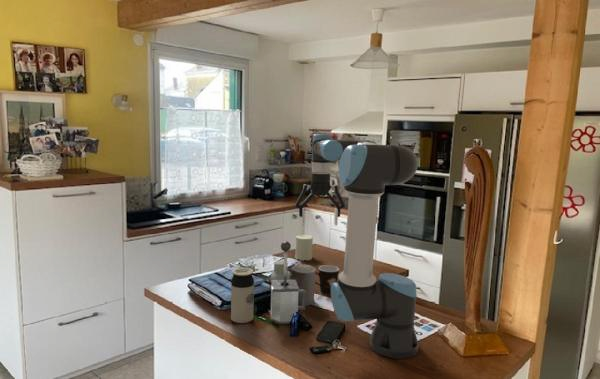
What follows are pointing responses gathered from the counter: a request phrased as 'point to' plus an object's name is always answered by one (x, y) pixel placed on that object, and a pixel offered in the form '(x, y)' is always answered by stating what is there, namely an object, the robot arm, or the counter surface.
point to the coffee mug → (327, 277)
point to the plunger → (285, 260)
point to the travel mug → (242, 295)
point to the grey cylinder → (304, 282)
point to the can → (304, 247)
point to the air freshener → (279, 271)
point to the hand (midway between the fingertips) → (319, 224)
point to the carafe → (285, 301)
